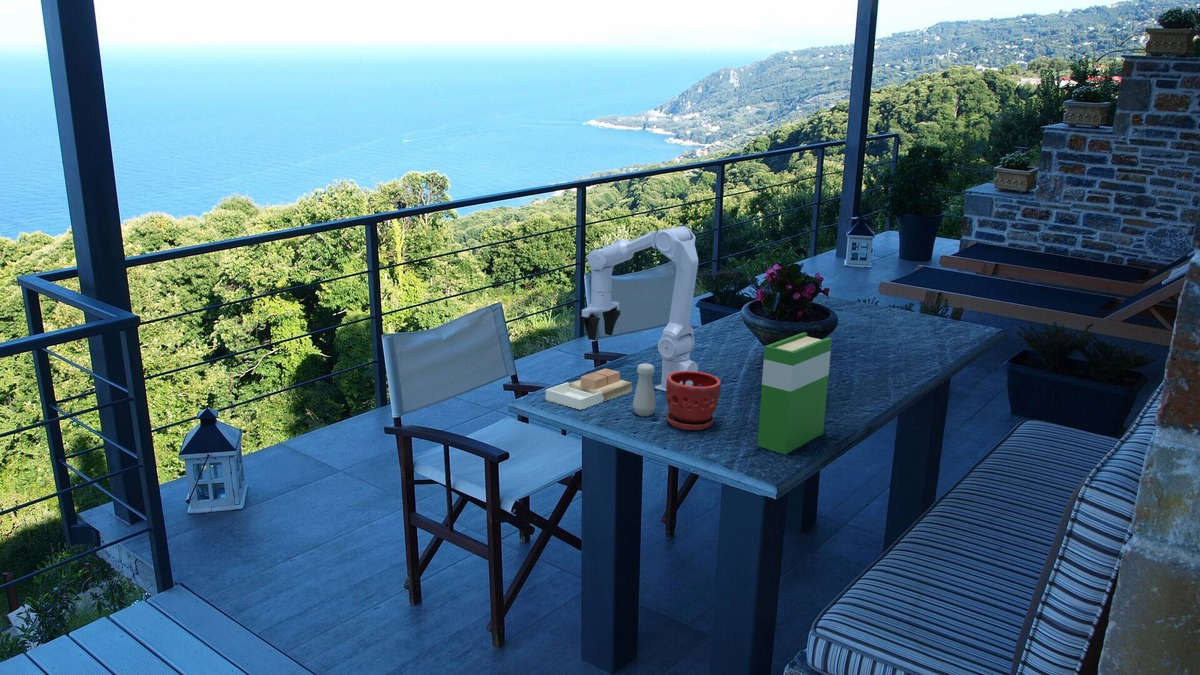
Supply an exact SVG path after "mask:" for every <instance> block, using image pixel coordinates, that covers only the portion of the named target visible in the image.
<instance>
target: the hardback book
mask: <svg viewBox="0 0 1200 675" xmlns="http://www.w3.org/2000/svg"><path fill="white" fill-rule="evenodd" d="M832 340H833V338H832V337H826V338H823V339H820V338H817V337H811V336H808V332H801V333H798V334H795V335H793V336H790V337H787V338H784V339H781V340H778V341H776V342H773V343H770V344H768V345H764V350H763V352H764V353H763V366H762V377H761V393H760V394H761V395H760V407H759V419H758V421H759V422H758V434H757V447H760V448H764V449H766V450H769V451H774V452H777V453H779V454H781V455H782V454H783V455H788V454H789V453H790V452H793V451H795V450H797V449H799V448H800V447H802V446H804V445H806V444H808V443H810V442H811V441H810V440H812V439H814V438H816V437H817V436H819V435H821V434H822V433H823V434H824V431H825V430H824V428H825V418H826V417H825V416H826V408H827V396H828V395H827V394H828V385H829V376H830V374H829V373H830V363H831V354H832V353H831V352H832ZM821 436H822V435H821ZM819 437H820V436H819ZM817 438H818V437H817ZM817 438H816V439H817ZM814 440H815V439H814ZM809 441H810V442H809ZM812 441H813V440H812ZM807 442H808V443H807ZM805 443H806V444H805ZM803 444H804V445H803ZM798 447H799V448H798ZM796 448H797V449H796ZM794 449H795V450H794ZM792 450H793V451H792Z"/></svg>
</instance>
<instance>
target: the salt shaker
mask: <svg viewBox="0 0 1200 675" xmlns="http://www.w3.org/2000/svg"><path fill="white" fill-rule="evenodd" d="M655 369H656V368H655V366H654V365H653V364H651V363H646V362H645V363H644V362H643V363H640V364H638V365H637V368H636V373H637V374H638V379H637V384H636V387H635V393H634V397H633V402H632V408H633V411H634V413H635V415H637V414H638V415H640V416H639V417H644V416H647V417H650V416H649V415H651V416H653V414H654V411H655V409H656V406H657V404H656V397H655V391H654V390H655V388H654V384H653V383H654V382H653V375H655V374H654V373H655V371H656V370H655ZM638 415H637V416H638Z"/></svg>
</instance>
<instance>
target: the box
mask: <svg viewBox="0 0 1200 675" xmlns="http://www.w3.org/2000/svg"><path fill="white" fill-rule="evenodd" d="M569 383H570V382H564V383H562V384H558V385H555V386H552V387H549V388H547V389H545V401H546V402H550V403H552V402H553V403H552V404H555V403H557V404H556V405H559V404H561V405H560V406H562V405H564V406H563V407H565V406H568V407H572V408H576V409H579V410H581V409H585V408H587V407H590V406H593V405H596V404H598V405H600V404H599V403H601V402H603V401H604V397H602V392H598V393H595V394H591V393H588V392H584V391H581V390H577V389H574V388H570V387H569ZM603 403H604V402H603ZM601 404H602V403H601ZM596 406H597V405H596ZM568 407H567V408H568ZM593 407H594V406H593ZM572 408H571V409H572ZM590 408H591V407H590ZM585 410H586V409H585Z"/></svg>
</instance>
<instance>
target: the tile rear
mask: <svg viewBox="0 0 1200 675" xmlns="http://www.w3.org/2000/svg"><path fill="white" fill-rule="evenodd" d="M593 373H596V374H600V375H603V376H607V385H610V384H612V383H615V382H618V381H620V380H621V376H620V375H621V372H620V371H617V370H613V369H609V368H603V369H600V370H596V371H594V372H593Z"/></svg>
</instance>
